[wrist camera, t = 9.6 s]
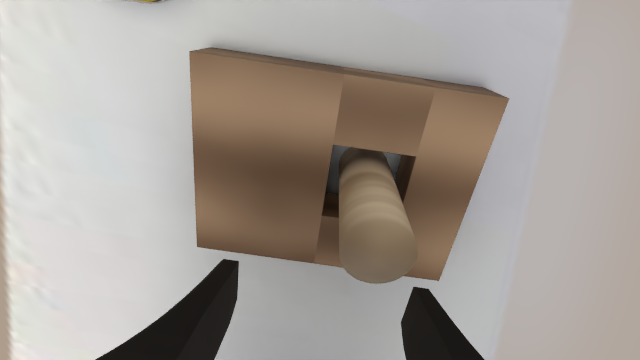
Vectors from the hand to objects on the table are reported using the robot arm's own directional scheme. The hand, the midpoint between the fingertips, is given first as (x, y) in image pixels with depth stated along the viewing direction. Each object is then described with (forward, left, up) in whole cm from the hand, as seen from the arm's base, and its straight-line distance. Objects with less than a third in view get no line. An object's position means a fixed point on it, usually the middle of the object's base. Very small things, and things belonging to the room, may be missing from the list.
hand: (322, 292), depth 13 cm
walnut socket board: (+2, 0, -10) cm, 10 cm away
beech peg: (+2, -2, -10) cm, 10 cm away
